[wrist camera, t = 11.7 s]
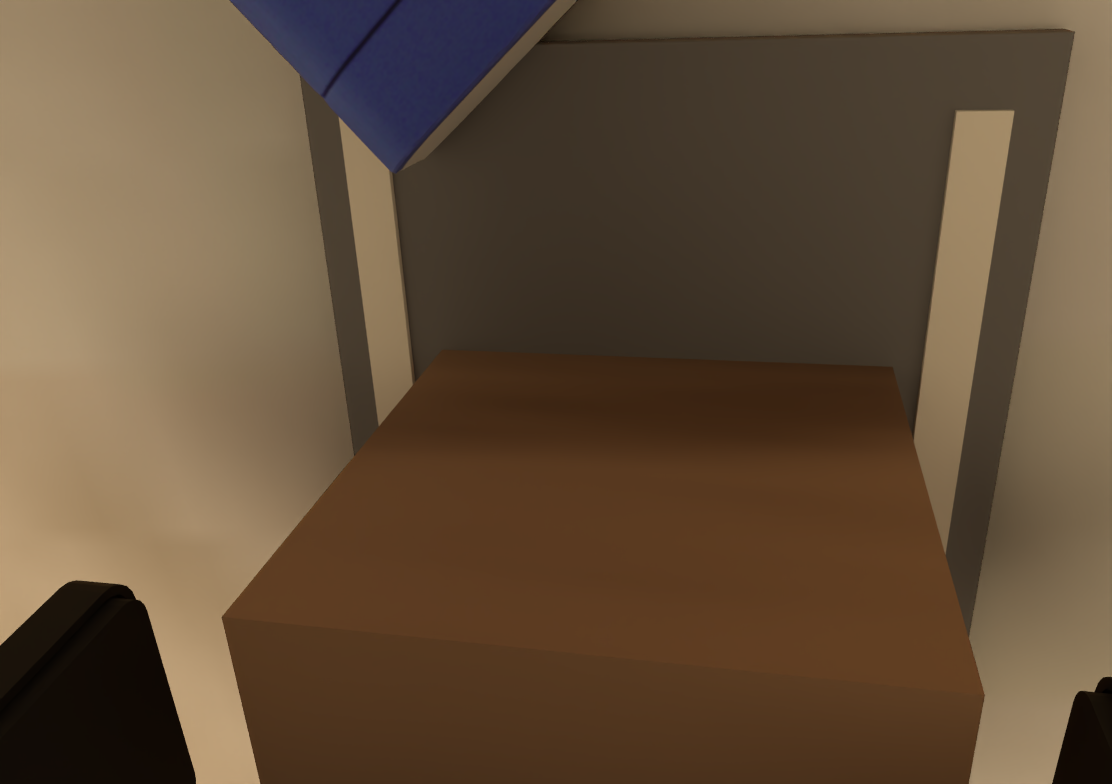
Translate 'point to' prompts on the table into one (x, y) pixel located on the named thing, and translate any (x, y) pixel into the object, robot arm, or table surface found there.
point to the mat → (722, 225)
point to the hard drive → (403, 60)
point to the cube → (616, 587)
